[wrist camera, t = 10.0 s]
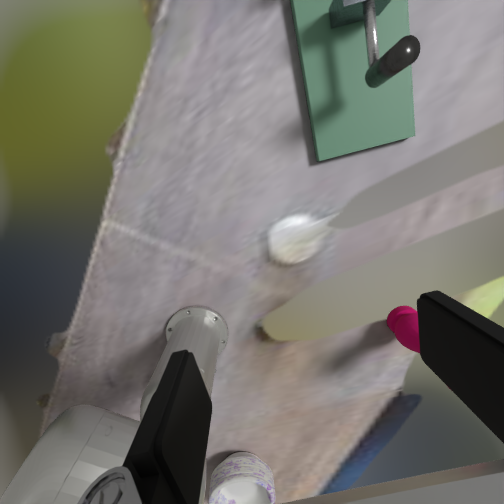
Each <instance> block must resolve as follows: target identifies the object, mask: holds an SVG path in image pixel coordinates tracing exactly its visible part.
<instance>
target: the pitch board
mask: <svg viewBox="0 0 504 504" xmlns="http://www.w3.org/2000/svg"><path fill="white" fill-rule="evenodd" d="M332 1H333V0H290V2H291V8H292V14H293V20H294V26H295V32H296V38H297V44H298V50H299V57H300V63H301V69H302V75H303V81H304V87H305V93H306V99H307V105H308V111H309V117H310V123H311V129H312V135H313V141H314V147H315V153H316V159H317V162H318V161H322V160H326V159H329V158H333V157H337V156H341V155H344V154H348V153H352V152H356V151H360V150H363V149H367V148H371V147H375V146H379V145H382V144H386V143H390V142H394V141H398V140H401V139H405V138H409V137H413V136H415V122H414V104H413V86H412V67H411V65H409V66H408V67H406V68H405V69H403V70H402V71H400V72H399V73H398V74H396V75H395V76H393V77H392V78H390V79H389V80H388V81H386V82H385V83H383V84H382V85H380V86H379V87H377V88H371V87H369V86H368V85H367V84H366V81H365V74H366V71H367V70H368V58H367V48H366V37H365V27H364V20H361V21H358V22H355V23H351V24H348V25H344V26H341V27H337V28H334V29H331V26H330V18H329V10H328V9H329V7H330V5H331V3H332ZM376 23H377V35H378V47H379V58H380V57H382V56H383V55H384V54H385V53H386V52H387V51H388V50H389V49H390V48H391V47H393V46H394V45H395V44H396V43H397V42H398V41H399V40H400V39H401V38H403V37H405V36H407V35H410V31H409V13H408V0H391V2H390V3H389V4H388V5H387V6H386V8H385V9H384V10H383V11H382V13H381V14H380V15H379V16H376Z"/></svg>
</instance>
